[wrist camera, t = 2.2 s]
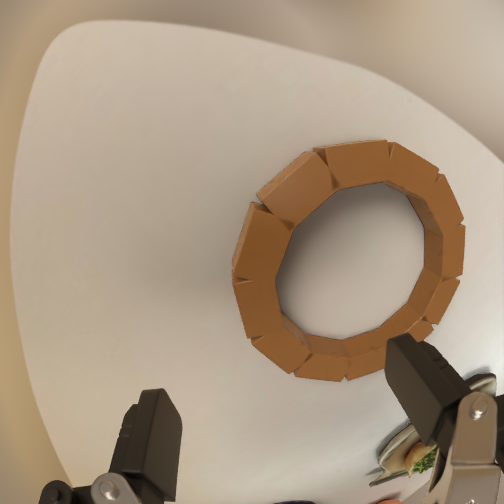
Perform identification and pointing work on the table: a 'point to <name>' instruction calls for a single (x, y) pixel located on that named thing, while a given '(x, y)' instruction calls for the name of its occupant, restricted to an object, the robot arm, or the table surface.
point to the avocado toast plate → (420, 442)
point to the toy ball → (390, 502)
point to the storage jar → (297, 502)
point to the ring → (302, 205)
